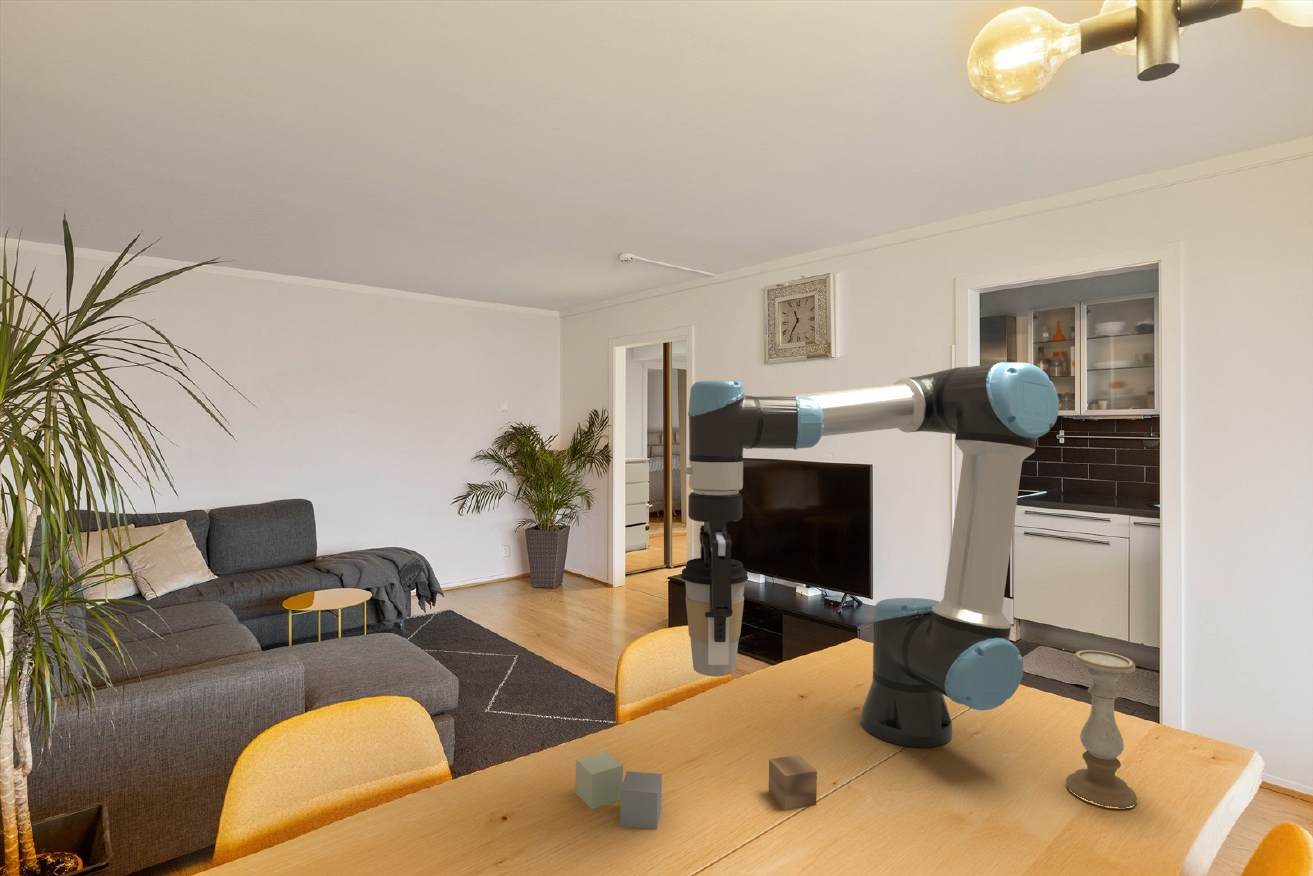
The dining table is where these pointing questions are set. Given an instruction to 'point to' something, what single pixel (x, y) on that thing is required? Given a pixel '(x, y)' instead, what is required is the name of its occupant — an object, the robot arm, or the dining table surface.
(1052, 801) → the dining table surface
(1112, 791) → the candle holder
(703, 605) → the coffee cup
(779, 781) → the walnut cube
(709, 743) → the dining table surface
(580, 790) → the sage cube
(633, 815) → the slate cube
